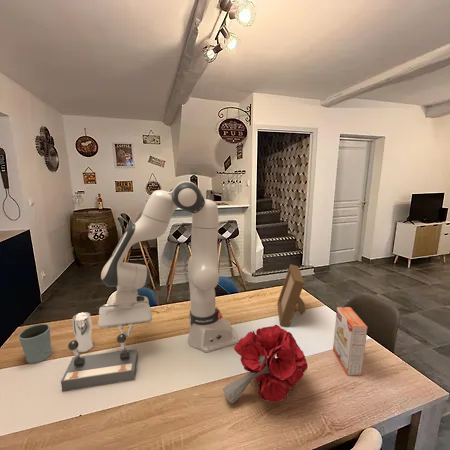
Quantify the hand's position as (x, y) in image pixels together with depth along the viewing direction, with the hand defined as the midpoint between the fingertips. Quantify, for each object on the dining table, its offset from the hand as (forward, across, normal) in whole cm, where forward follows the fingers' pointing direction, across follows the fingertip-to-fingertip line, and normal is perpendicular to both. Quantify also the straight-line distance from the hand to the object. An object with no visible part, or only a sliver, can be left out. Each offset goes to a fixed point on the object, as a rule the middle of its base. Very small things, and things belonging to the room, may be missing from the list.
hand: (125, 337), depth 100 cm
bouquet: (+26, +48, -8) cm, 55 cm away
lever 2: (+6, 0, +4) cm, 8 cm away
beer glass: (-2, -19, +18) cm, 27 cm away
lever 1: (+6, -16, +4) cm, 18 cm away
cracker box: (+22, +85, -4) cm, 88 cm away
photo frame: (-3, +81, +22) cm, 83 cm away
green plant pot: (0, -36, +17) cm, 40 cm away
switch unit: (+10, -8, +6) cm, 15 cm away
